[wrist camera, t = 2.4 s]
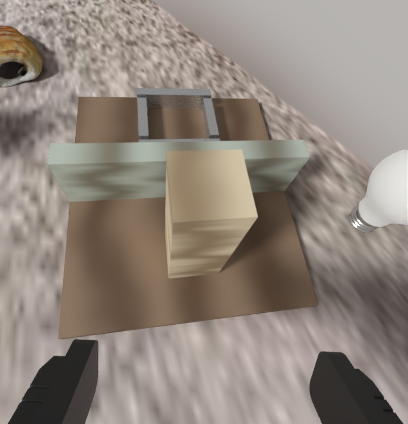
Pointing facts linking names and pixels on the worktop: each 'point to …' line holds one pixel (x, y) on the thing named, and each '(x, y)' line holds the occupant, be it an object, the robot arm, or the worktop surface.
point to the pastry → (17, 58)
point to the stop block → (205, 209)
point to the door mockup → (155, 220)
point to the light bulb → (384, 195)
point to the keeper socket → (176, 100)
